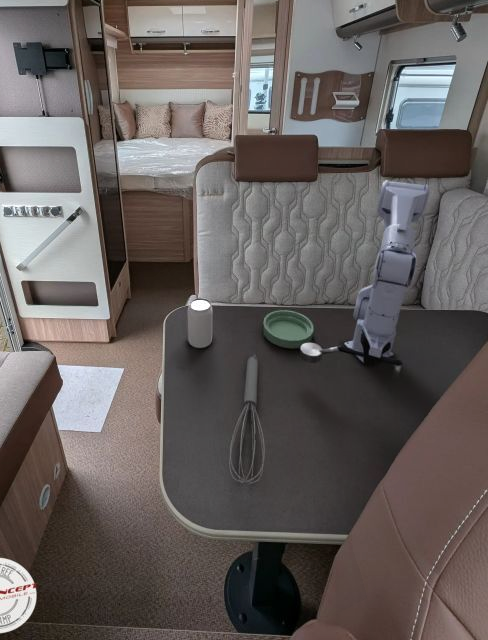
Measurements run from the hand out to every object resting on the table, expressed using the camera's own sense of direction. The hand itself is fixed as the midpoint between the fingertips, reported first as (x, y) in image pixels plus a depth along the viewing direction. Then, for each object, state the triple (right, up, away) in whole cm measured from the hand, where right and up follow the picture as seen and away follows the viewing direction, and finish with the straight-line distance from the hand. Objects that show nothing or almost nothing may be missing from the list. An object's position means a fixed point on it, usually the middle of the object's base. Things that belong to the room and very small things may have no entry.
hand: (369, 361), depth 77 cm
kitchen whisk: (-26, -11, 0) cm, 28 cm away
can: (-37, -1, +21) cm, 42 cm away
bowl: (-12, +1, +24) cm, 27 cm away
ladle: (-4, -2, +3) cm, 5 cm away
